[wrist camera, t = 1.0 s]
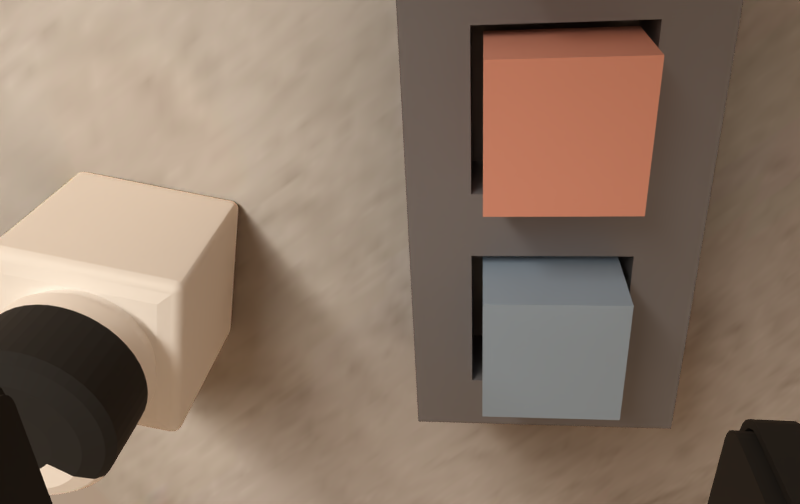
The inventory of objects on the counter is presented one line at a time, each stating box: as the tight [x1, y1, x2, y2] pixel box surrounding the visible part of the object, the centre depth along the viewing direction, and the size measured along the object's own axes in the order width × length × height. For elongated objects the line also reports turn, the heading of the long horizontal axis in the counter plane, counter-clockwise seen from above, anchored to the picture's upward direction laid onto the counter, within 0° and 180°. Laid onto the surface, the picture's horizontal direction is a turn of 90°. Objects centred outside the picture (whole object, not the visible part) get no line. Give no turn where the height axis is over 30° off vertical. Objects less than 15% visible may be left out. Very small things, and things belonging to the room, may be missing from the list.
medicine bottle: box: [0, 172, 238, 495], centre depth 28 cm, size 7×7×12 cm
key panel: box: [396, 0, 743, 428], centre depth 25 cm, size 26×10×5 cm, turn 3°
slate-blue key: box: [482, 256, 634, 420], centre depth 26 cm, size 5×5×4 cm
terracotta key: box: [483, 26, 664, 217], centre depth 22 cm, size 5×5×4 cm
